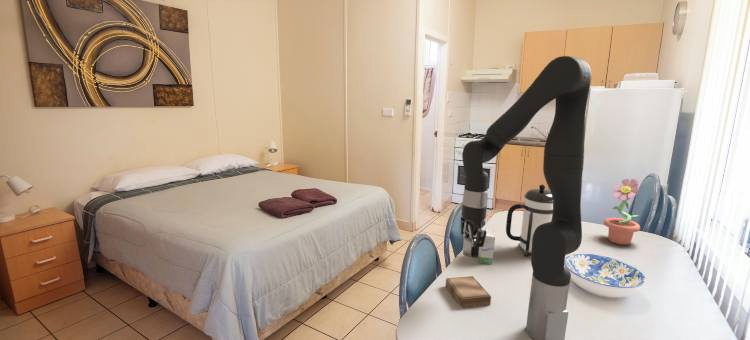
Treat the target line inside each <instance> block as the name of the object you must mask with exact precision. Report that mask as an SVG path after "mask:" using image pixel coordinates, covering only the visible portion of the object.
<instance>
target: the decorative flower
mask: <svg viewBox="0 0 750 340" xmlns="http://www.w3.org/2000/svg"><path fill="white" fill-rule="evenodd" d="M639 189H640V185H639V181H638V180H636V179H635V178H632V179H630V178H623V179H622V180H621V185H618V184H616V185H614V186H613V192H614V193H613V197H614V198H615V199H618V201H621V202H620V204H619V206H618V205H616V206H613V207H612V208H611V209H612V210H617V213H618V214H619V215H620V216H621V217H608V218H606V219H604V221H603V224H604V226H605V227H607V228H608V240H609V241H610V242H612V243H614V244H617V245H622V246H623V245H624V246H626V245H630V244H631V242H632V240H633V235H634V233H635V232H636V233H637V232H639V231H641V225H640V224H638V222H635V221H633V220H632V218H635V217H638V216H639V214H633V215H631V214H629V213H627V212H625V211H623V209H624V207H626V208H627V210H630V209H629V207H630V206H629V203H628V201H629V200H631V199H633V198H634V197H635V196H636V195H637V193H638V192H639ZM622 217H624V218H622Z"/></svg>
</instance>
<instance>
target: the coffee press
mask: <svg viewBox="0 0 750 340" xmlns="http://www.w3.org/2000/svg"><path fill="white" fill-rule="evenodd" d="M523 197H524V203H523V204H520V203H516V204H513V205H511V206H510V207H509V209H508V211H507V215H506V224H505V232H506V235H507V237H508V238H509V239H510V240H512V241H517V242H519V243H518V244H517V246H518V248H521V249H523V250H524V252H523V256H524V257H529V255H530V254H531V252H532V239H533V234H534V231H535V229H536V228H537V227H538V226H539V225H541V224H544V223H548V222H551V220H552V214H553V198H552V194H551V192H550V189H549V190H548V189H546V186H545V184H540V185H539V186H538V188H531V189H528V190H527V191H526V193H525V194H524V196H523ZM518 209H523V214H522V221H521V233H520V235H519V236H516V235H513V234H512V233H511V230H512V220H513V219H512V218H513V213H514V212H515V210H518Z"/></svg>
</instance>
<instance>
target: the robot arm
mask: <svg viewBox="0 0 750 340" xmlns="http://www.w3.org/2000/svg"><path fill="white" fill-rule="evenodd" d="M591 69H592V68H591V67H590V65H589V63H588V62H587V61H586V60H584V59H581V58H578V57H573V56H569V55H563V56H561V55H560V56H557V57H555V58H554V59H552V60H550V62H549V63H548V64H546V66H545V67H544V68H543V69H542V71H540V73H539V74H538V76H536V78H535V79H534V81H533V82H532V83H531V84H530V85H529V87H527V89H526V90H525V91H524V93H522V95H521V96H520V97H519V98H518V99H517V100H516V101H515V103H513V104H512V105H511V106H510V107H509V108H508V109H507V110H506V111H505V112H504V113H503V114H501V116H500V117H498V118H497V119H496V120H495V121H494V122H493V123H492V124H491V125H490V126H489V127H488V128H487V130H486V132H485V133H486V134H485V135H484V137H483V138H481V139H479V140H472V141H469V142H467V143H466V144H465V145H464V147H463V151H462V154H461V155H462V156H461V158H462V165H463V171H464V175H465V176H464V189H463V192H462V193H463V194H462V204H461V216H460V234H461V235H462V237H463V239H464V238H465V237H470V239H471V242H472V246H471V257H470V258H472V257H474V258H479V256H478V252H479V247H483V246H484V241H485V237H486V230H482V228H483V226H482V222H483V221H484V220H486V218H487V208H488V199H489V198H488V195H489V194H488V187H489V174H488V173H487V172H486V171H485V170H484V168H483V167H484V166H483V164H484V163H487V162H488V163H489V162H490V161H491V160H492V159H494V158H496V156H497V155H498V154H499V153H500V152H501V151H502V149H504V147H505V145H507V144H508V143H510V142H511V141H512V140H513V139H515V138H516V137H517V136H518V135H519V134H520V133H522V132H523V131H524V130H525V128H526V127H527V126H528V125H529V124H530V122H531V121H532V120H533V118H534V116H536V114H537V113H539V111H541V110H542V109H543V108H544V107H545V106H546V105H548V104H550V103H551V102H553V100H555V110H554V117H553V121H552V124H551V126H550V129H549V132H548V135H547V137H546V141H545V145H544V150H543V162H542V163H543V164H542V165H543V166H542V167H543V168H542V169H543V176H544V179H545V183H546V184H547V187H548V189H549V191H550V192H551V194H552V198H553V214H552V220H551V222H548V223H544V224H541V225H539V226H538V227H537V228H536V229H535V231H534V234H533V239H532V252H531V253H530V254H531V255H530V264H531V265H530V266H531V268H532V275H531V276H532V277H531V285H530V291H529V298H528V308H527V309H528V311H527V316H526V327H525V330H526V333H527V335H528V336H529V337H531V338H532V339H533V340H565V338H566V332H567V325H568V316H569V311H568V310H567V305H568V297H569V291H570V285H571V284H570V283H571V277H572V274H571V271H570V270H569V268H567V267H566V266H565V262H566V261H565V260H566V256H568V255H570V254H572V253H574V252H576V251H577V250H578V249H579V248H580V247H581V244H582V242H583V241H582V239H583V230H582V229H583V227H582V226H583V225H582V211H581V208H582V207H581V204H582V203H581V202H582V189H583V187H582V186H583V184H582V183H583V173H584V172H583V171H584V163H585V162H584V160H585V140H586V139H585V138H586V137H585V135H586V114H587V113H586V112H587V106H588V100H589V94H590V88H591V84H592V70H591ZM475 239H476V240H475ZM474 240H475V241H474ZM480 241H481V243H480Z"/></svg>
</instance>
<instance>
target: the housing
mask: <svg viewBox="0 0 750 340" xmlns="http://www.w3.org/2000/svg"><path fill="white" fill-rule="evenodd" d="M475 240H476V239H475ZM475 240H474V241H475ZM471 246H472V242H471V239H470V237H465V238H463V245H462V255H463V256H465V257H467V258H475V257H471ZM478 254H479V252H478Z"/></svg>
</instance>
